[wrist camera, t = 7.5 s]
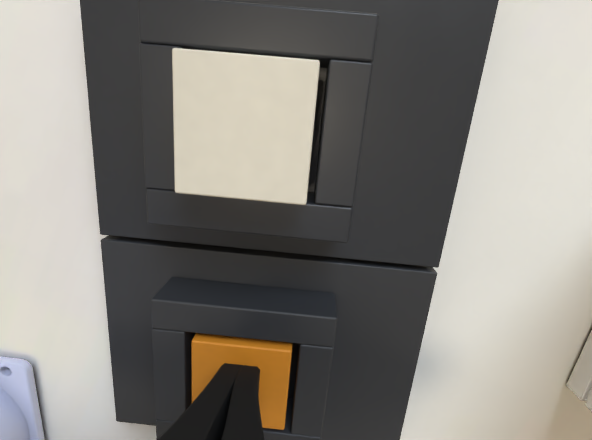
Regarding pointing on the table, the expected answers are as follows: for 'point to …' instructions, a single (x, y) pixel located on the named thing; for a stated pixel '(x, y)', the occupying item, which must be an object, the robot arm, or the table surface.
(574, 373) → the stack of papers
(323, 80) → the keypad
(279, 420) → the amber key
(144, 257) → the keypad
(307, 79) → the white key
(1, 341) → the table surface
